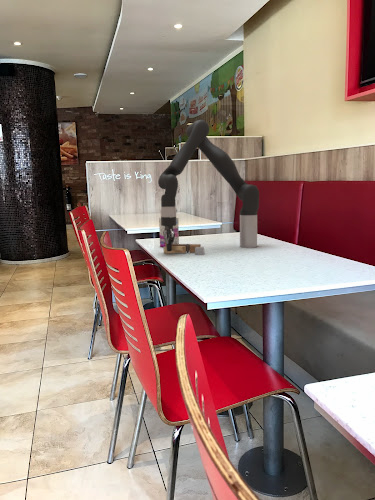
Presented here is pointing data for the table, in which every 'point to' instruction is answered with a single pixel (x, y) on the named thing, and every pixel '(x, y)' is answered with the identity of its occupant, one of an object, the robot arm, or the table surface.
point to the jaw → (176, 249)
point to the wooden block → (188, 247)
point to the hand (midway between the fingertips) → (169, 251)
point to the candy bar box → (176, 231)
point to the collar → (199, 251)
